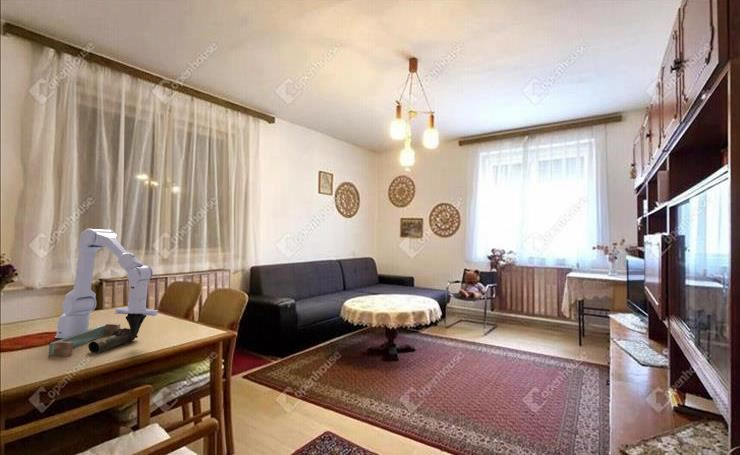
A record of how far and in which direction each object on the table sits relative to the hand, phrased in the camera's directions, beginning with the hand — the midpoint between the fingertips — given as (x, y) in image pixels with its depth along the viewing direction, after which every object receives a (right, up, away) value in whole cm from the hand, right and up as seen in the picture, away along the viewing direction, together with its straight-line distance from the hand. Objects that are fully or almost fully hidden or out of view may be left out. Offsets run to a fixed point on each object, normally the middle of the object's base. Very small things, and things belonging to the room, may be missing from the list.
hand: (134, 333), depth 136 cm
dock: (-17, -3, -1) cm, 17 cm away
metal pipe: (-7, -5, -1) cm, 9 cm away
